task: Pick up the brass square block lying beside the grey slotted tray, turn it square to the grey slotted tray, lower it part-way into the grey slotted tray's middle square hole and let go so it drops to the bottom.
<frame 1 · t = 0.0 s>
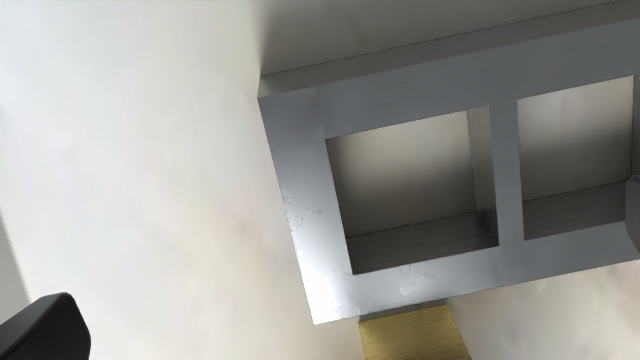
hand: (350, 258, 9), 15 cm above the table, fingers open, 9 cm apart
brass block: (408, 347, 29), on the table
grey slotted tray: (563, 131, 25), on the table
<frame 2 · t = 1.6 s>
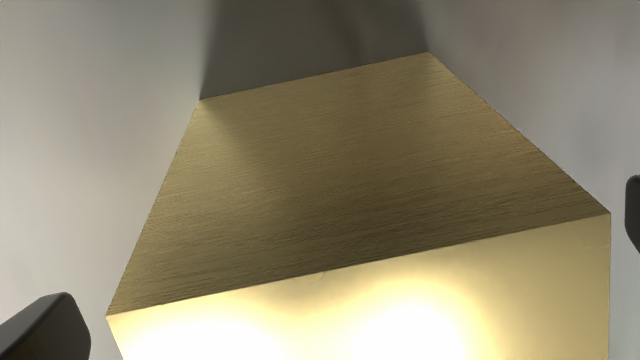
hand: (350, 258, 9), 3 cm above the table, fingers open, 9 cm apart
brass block: (334, 179, 12), on the table
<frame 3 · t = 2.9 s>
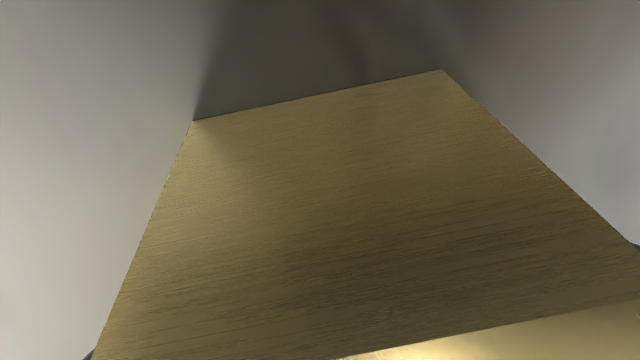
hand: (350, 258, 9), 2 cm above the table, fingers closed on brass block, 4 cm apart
brass block: (339, 205, 11), on the table, touching gripper
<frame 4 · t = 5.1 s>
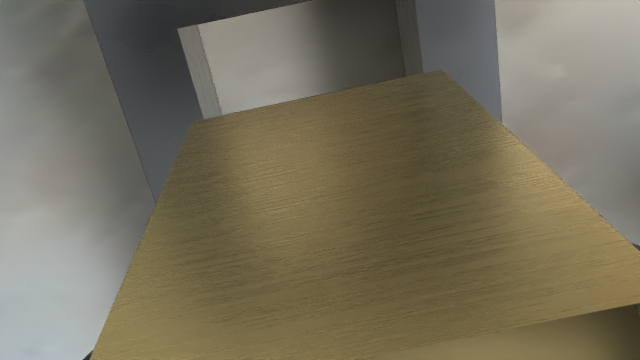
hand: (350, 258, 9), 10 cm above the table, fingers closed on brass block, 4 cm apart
brass block: (339, 206, 11), point 8 cm above the table, touching gripper
grey slotted tray: (311, 87, 18), on the table
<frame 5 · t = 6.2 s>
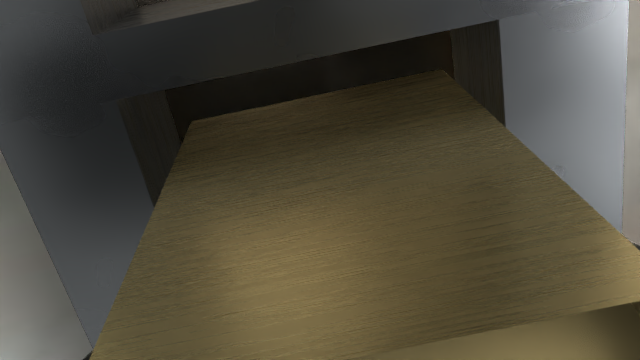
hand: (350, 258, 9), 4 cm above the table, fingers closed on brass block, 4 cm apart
brass block: (339, 206, 11), point 2 cm above the table, touching gripper
grey slotted tray: (327, 161, 13), on the table
when the fingers open (4 cm above the table, at t = 7.3 s): brass block drops 2 cm, resting in grey slotted tray.
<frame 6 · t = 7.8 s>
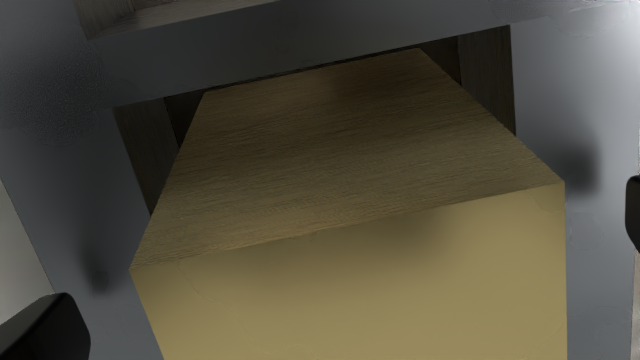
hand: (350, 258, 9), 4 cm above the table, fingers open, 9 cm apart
brass block: (330, 167, 13), resting in grey slotted tray
grey slotted tray: (330, 168, 12), on the table
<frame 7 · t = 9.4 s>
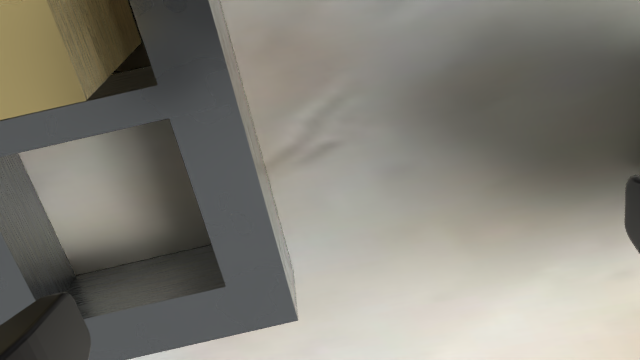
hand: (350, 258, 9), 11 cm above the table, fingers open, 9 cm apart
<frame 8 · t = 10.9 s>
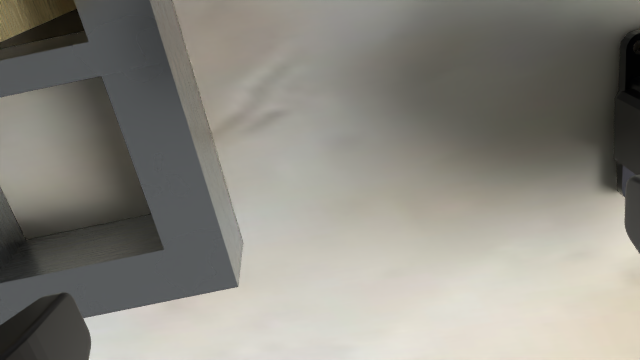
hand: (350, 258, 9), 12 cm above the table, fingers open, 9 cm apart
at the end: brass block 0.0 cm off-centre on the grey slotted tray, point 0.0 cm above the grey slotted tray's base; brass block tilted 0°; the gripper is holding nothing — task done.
